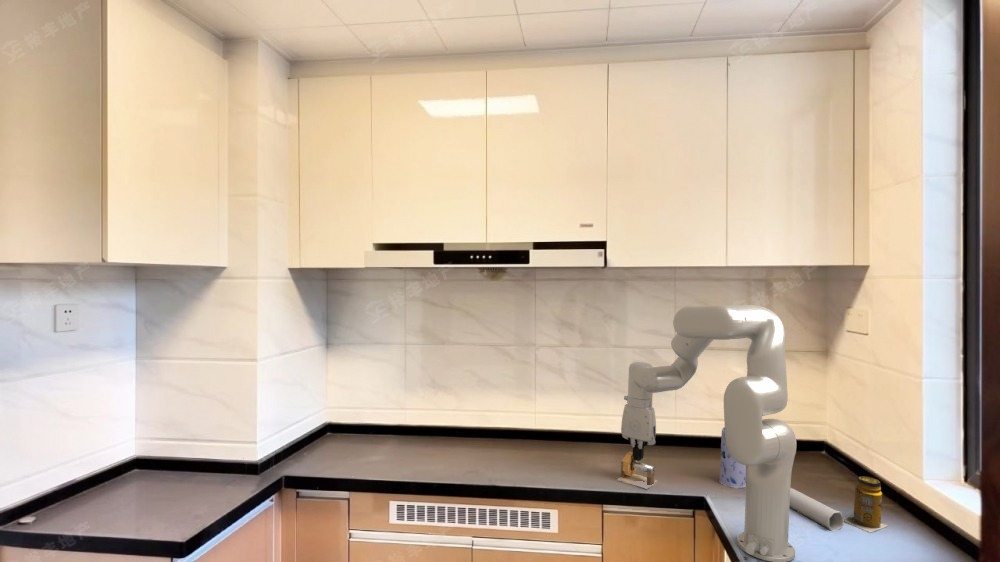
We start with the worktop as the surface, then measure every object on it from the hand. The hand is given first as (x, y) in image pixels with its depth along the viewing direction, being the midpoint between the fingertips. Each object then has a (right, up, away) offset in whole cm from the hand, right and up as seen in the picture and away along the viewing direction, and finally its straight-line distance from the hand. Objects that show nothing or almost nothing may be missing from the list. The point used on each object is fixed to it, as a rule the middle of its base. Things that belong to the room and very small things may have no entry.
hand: (637, 459), depth 166 cm
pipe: (0, -4, 0) cm, 4 cm away
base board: (0, -7, 0) cm, 7 cm away
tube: (+41, -9, -16) cm, 45 cm away
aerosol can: (+30, -8, +1) cm, 31 cm away
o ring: (-2, -5, +2) cm, 6 cm away
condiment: (+55, -9, -24) cm, 61 cm away
